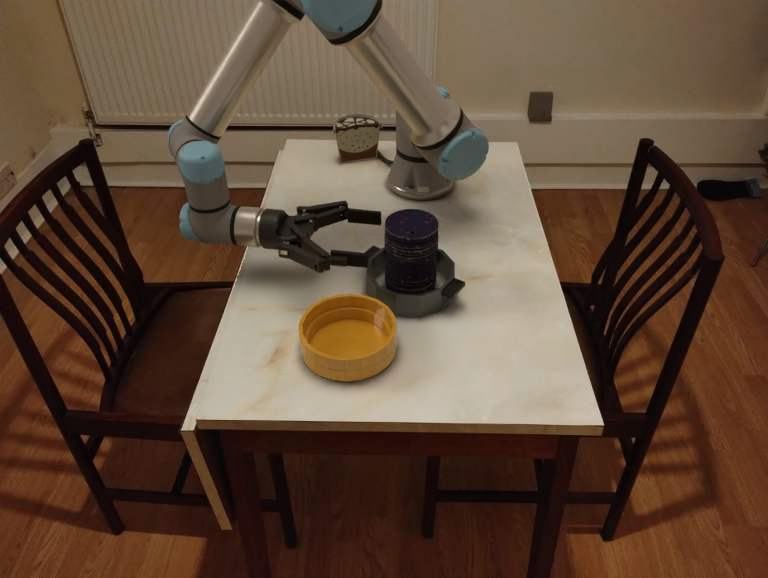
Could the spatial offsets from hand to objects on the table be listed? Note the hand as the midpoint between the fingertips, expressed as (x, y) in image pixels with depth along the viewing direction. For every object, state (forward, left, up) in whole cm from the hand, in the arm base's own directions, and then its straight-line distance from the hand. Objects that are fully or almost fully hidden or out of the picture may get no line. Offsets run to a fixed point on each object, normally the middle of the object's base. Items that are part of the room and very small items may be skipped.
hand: (374, 238), depth 122 cm
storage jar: (+4, +6, -11) cm, 13 cm away
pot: (+4, +6, -11) cm, 13 cm away
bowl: (+14, -11, -11) cm, 21 cm away
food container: (-50, +18, -11) cm, 54 cm away
